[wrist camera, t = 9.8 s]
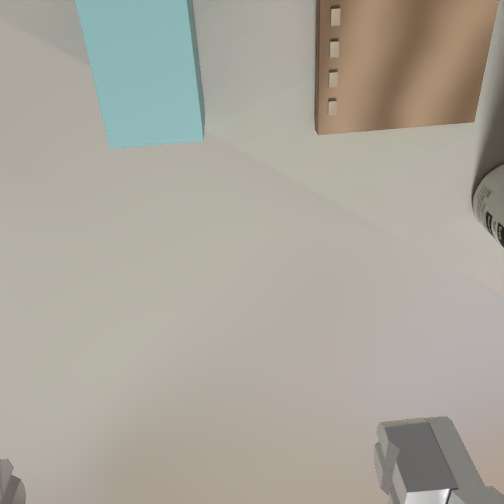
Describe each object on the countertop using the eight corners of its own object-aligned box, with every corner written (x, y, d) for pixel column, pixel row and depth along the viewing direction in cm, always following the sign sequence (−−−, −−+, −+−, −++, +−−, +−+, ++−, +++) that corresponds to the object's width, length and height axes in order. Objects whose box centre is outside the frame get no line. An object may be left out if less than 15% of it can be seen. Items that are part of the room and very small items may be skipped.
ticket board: (315, 129, 37) (318, 135, 36) (318, -135, 28) (323, -138, 27) (467, 117, 37) (475, 122, 36) (518, -148, 28) (531, -152, 27)
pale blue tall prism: (124, 119, 35) (109, 148, 30) (83, -76, 29) (55, -81, 24) (205, 113, 35) (203, 141, 30) (182, -83, 29) (176, -89, 24)
